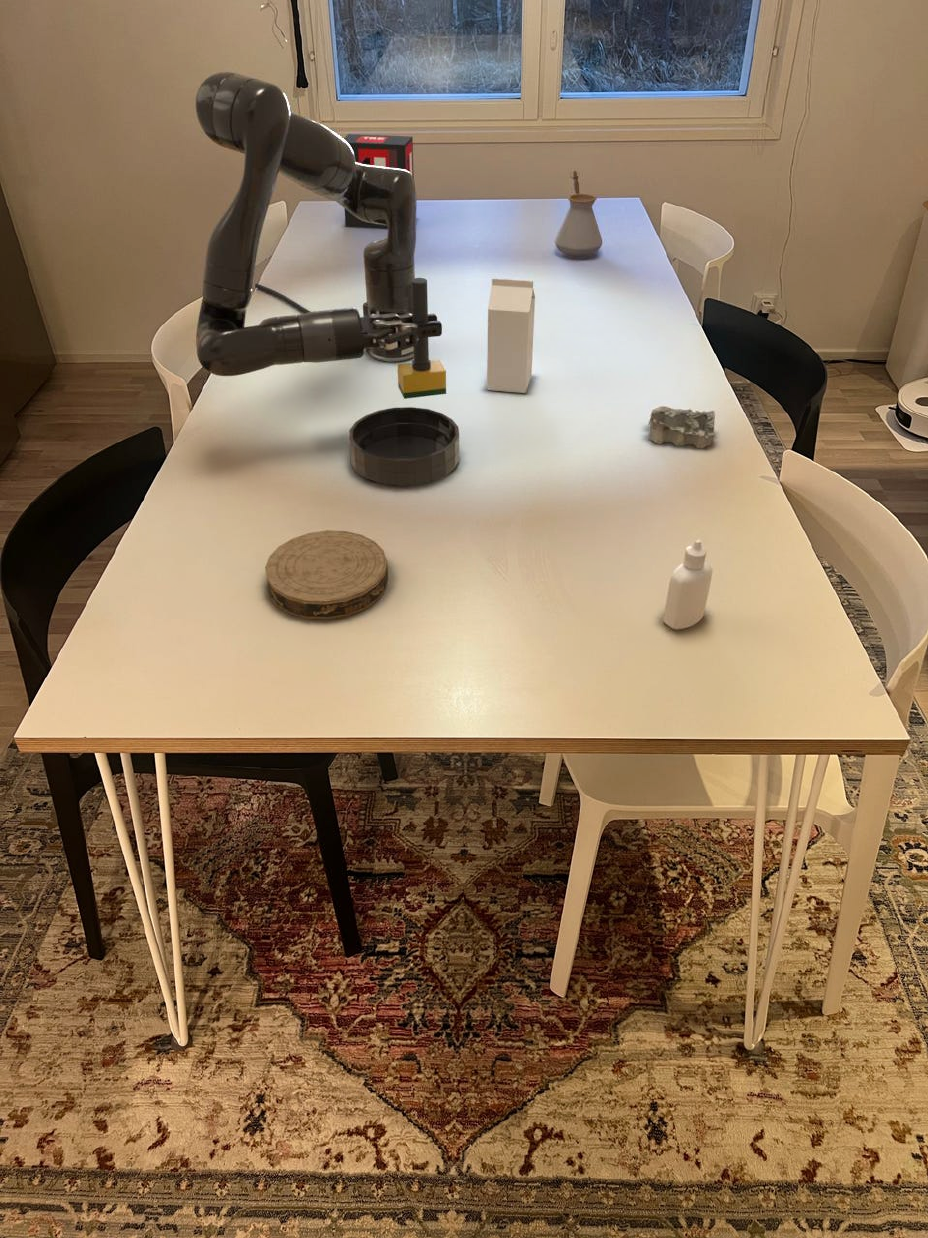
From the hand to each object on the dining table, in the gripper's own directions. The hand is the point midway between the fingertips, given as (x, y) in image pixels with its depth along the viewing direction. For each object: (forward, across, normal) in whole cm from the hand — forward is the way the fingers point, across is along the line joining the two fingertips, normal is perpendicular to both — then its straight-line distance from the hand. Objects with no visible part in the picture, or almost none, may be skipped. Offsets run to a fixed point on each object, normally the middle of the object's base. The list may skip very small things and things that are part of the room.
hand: (438, 324), depth 148 cm
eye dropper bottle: (+17, -58, +18) cm, 63 cm away
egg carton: (+38, -14, +18) cm, 44 cm away
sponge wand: (-3, 0, +11) cm, 11 cm away
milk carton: (+16, +13, +18) cm, 27 cm away
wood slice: (-25, -38, +18) cm, 49 cm away
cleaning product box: (+13, +114, +18) cm, 116 cm away
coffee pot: (+55, +82, +18) cm, 100 cm away
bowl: (-8, -9, +18) cm, 22 cm away
